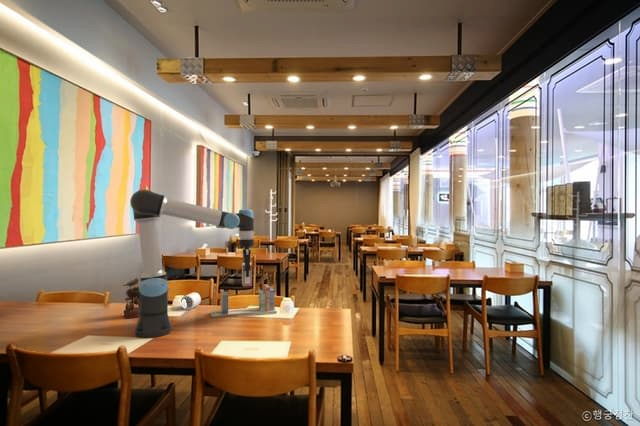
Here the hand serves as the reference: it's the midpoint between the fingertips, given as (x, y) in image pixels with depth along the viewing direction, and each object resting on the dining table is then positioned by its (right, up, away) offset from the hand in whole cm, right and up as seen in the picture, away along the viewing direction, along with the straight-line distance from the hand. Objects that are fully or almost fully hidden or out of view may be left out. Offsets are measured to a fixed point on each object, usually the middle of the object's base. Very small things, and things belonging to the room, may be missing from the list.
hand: (246, 281), depth 197 cm
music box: (-58, -18, 0) cm, 61 cm away
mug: (-38, -18, +18) cm, 45 cm away
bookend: (-12, -17, +3) cm, 21 cm away
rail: (-3, -18, +6) cm, 19 cm away
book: (0, -1, 0) cm, 1 cm away
